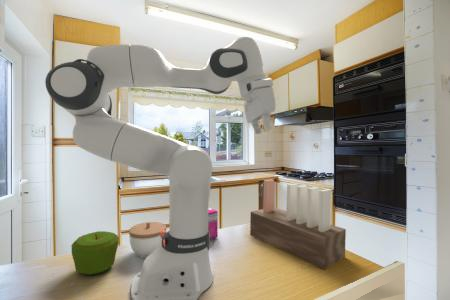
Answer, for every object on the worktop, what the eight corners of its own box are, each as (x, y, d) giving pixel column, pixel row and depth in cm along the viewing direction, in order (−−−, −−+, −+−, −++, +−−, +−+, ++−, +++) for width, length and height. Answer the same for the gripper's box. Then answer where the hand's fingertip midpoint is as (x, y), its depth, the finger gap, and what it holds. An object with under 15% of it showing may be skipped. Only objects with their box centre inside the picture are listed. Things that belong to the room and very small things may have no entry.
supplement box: (198, 236, 95) (199, 209, 95) (210, 233, 99) (210, 207, 99) (206, 241, 91) (206, 213, 91) (218, 237, 94) (218, 210, 94)
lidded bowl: (155, 264, 73) (155, 230, 73) (121, 259, 76) (121, 227, 75) (171, 246, 85) (172, 218, 85) (142, 243, 88) (142, 215, 88)
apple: (64, 284, 62) (64, 244, 62) (80, 261, 74) (80, 228, 73) (113, 277, 65) (113, 239, 65) (121, 257, 77) (121, 224, 77)
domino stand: (323, 269, 71) (324, 238, 71) (250, 234, 98) (250, 211, 98) (344, 257, 79) (345, 229, 79) (271, 227, 106) (272, 206, 106)
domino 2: (289, 221, 87) (290, 185, 86) (286, 219, 88) (286, 184, 88) (297, 218, 90) (298, 183, 89) (294, 217, 91) (294, 183, 91)
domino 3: (299, 224, 83) (300, 187, 83) (296, 223, 84) (296, 186, 84) (307, 221, 86) (308, 185, 86) (304, 220, 87) (304, 185, 87)
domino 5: (322, 232, 76) (323, 191, 75) (318, 230, 77) (319, 190, 77) (330, 229, 79) (331, 189, 78) (326, 227, 80) (326, 188, 80)
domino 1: (265, 212, 97) (266, 180, 96) (263, 211, 98) (263, 180, 98) (273, 210, 100) (274, 179, 99) (270, 210, 101) (271, 179, 101)
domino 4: (310, 228, 79) (311, 189, 79) (306, 226, 81) (307, 188, 80) (318, 225, 82) (319, 187, 82) (314, 224, 84) (315, 186, 83)
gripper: (237, 100, 81) (245, 137, 81) (252, 80, 61) (263, 129, 61) (254, 97, 82) (262, 134, 82) (274, 76, 62) (284, 125, 62)
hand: (262, 132), depth 71 cm, fingers open, 8 cm apart
